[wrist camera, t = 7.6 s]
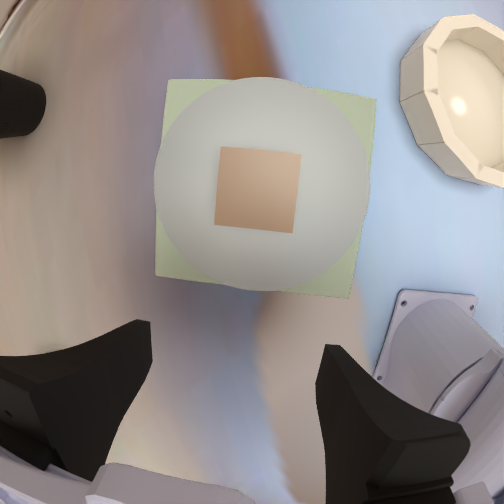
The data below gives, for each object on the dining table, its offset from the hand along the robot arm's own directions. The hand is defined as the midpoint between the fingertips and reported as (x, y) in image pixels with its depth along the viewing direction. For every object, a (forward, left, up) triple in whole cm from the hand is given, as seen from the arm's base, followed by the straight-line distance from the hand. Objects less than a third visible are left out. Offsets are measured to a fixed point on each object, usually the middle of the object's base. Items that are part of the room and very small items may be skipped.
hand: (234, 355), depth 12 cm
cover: (+6, 0, -10) cm, 12 cm away
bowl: (+15, -15, -10) cm, 24 cm away
